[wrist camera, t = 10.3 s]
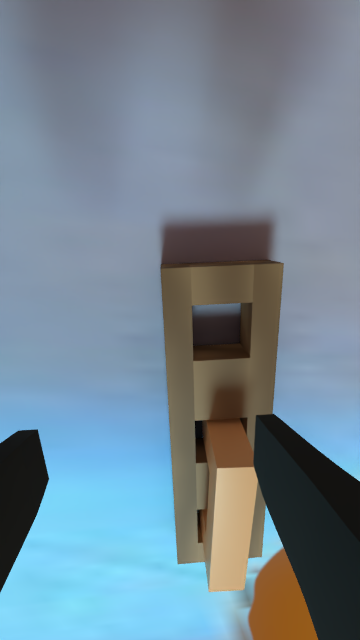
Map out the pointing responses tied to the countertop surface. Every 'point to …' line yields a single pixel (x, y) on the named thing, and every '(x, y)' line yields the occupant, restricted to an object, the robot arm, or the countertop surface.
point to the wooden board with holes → (216, 378)
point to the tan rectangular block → (228, 503)
